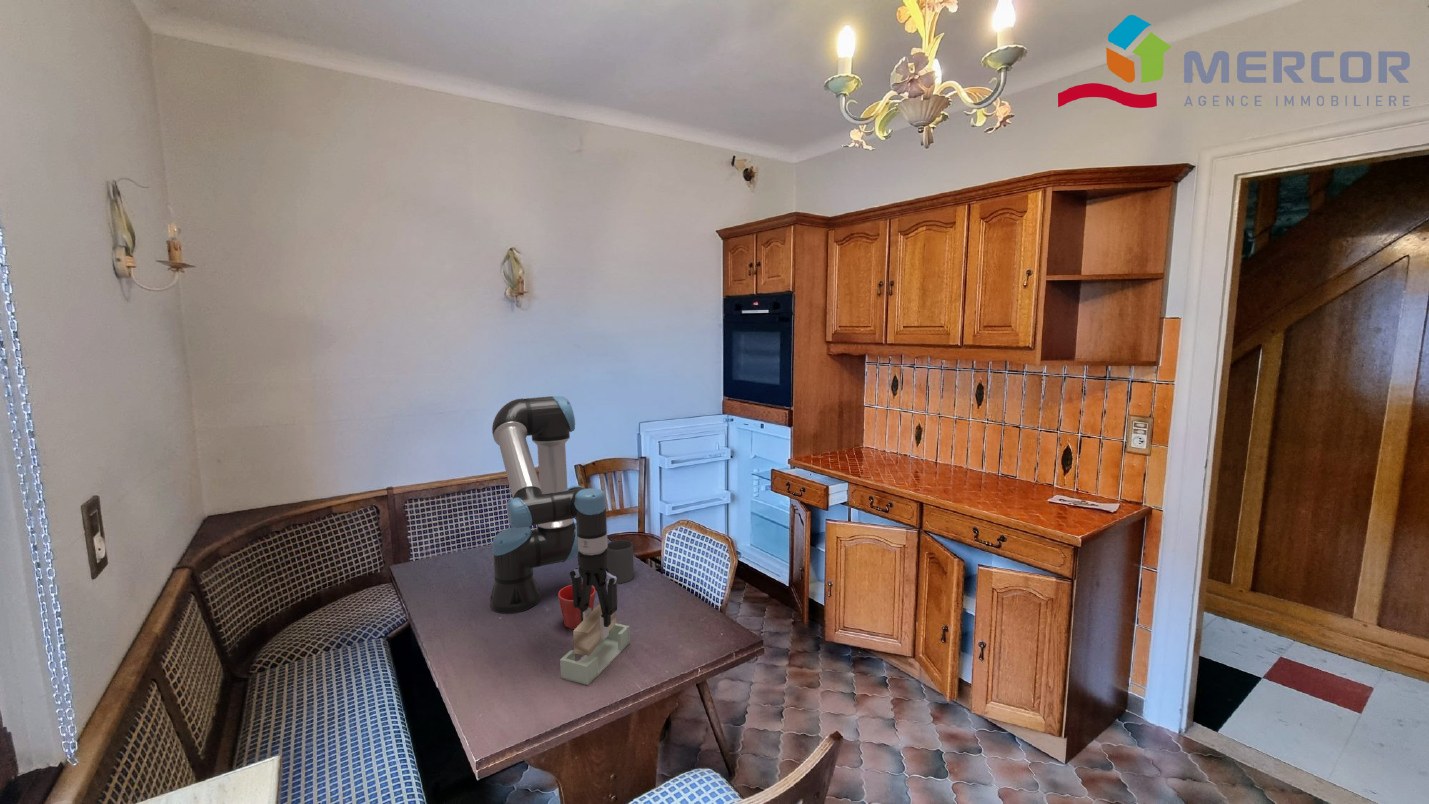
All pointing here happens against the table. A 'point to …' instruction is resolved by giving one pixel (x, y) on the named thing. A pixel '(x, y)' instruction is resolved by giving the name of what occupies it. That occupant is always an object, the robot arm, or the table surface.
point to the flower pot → (572, 606)
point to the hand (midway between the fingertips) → (596, 635)
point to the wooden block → (590, 632)
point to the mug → (621, 560)
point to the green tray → (595, 657)
